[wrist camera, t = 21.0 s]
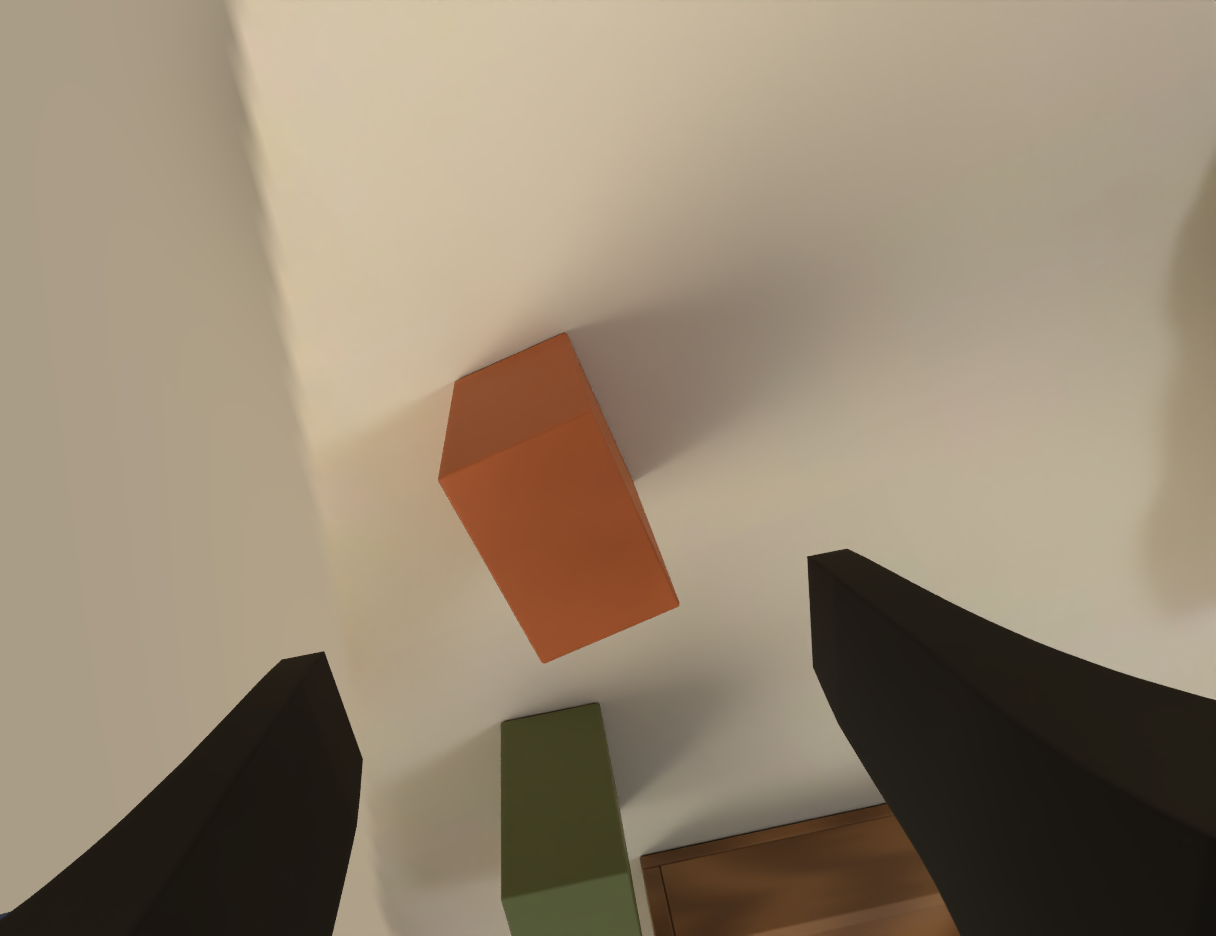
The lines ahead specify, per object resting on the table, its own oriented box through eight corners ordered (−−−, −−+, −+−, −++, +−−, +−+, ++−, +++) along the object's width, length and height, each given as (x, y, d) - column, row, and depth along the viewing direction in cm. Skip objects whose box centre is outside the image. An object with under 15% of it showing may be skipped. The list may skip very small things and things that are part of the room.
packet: (528, 830, 25) (536, 1022, 20) (500, 722, 24) (500, 899, 18) (620, 811, 26) (652, 995, 20) (599, 701, 24) (628, 872, 18)
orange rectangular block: (531, 527, 21) (542, 665, 16) (454, 381, 19) (436, 479, 14) (633, 483, 21) (680, 606, 16) (565, 331, 19) (591, 411, 14)
